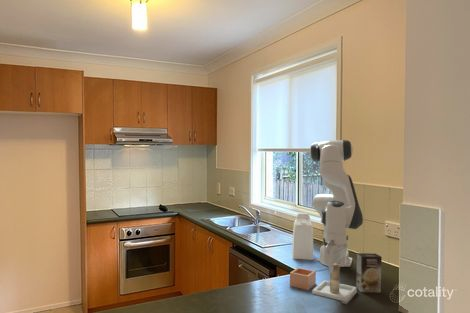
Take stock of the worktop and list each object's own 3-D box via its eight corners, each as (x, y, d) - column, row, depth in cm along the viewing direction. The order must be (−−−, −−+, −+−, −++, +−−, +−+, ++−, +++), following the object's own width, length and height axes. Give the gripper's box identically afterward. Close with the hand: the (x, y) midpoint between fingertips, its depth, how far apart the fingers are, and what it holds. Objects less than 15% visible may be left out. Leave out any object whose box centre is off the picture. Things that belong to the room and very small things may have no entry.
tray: (324, 285, 170) (324, 280, 170) (356, 292, 162) (356, 287, 162) (312, 295, 158) (312, 290, 158) (346, 304, 150) (346, 298, 150)
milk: (311, 254, 224) (312, 212, 223) (313, 259, 212) (314, 215, 212) (291, 253, 225) (292, 211, 225) (292, 258, 213) (293, 214, 213)
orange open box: (297, 282, 175) (297, 267, 175) (315, 286, 170) (315, 271, 170) (289, 287, 167) (289, 272, 167) (308, 292, 162) (308, 276, 162)
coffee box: (361, 292, 162) (361, 256, 162) (355, 287, 169) (356, 252, 169) (381, 292, 163) (381, 256, 163) (375, 287, 169) (375, 253, 169)
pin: (331, 289, 163) (331, 262, 163) (340, 291, 161) (340, 264, 161) (328, 292, 160) (328, 265, 159) (337, 294, 157) (338, 266, 157)
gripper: (335, 244, 149) (334, 277, 150) (349, 235, 167) (348, 265, 167) (320, 242, 153) (319, 274, 153) (335, 233, 170) (335, 262, 170)
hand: (335, 269), depth 160 cm, fingers open, 8 cm apart
